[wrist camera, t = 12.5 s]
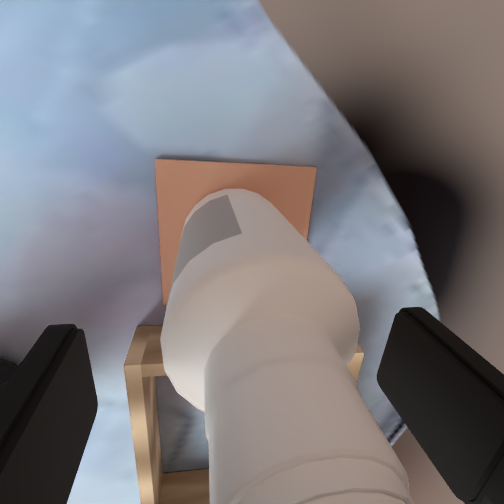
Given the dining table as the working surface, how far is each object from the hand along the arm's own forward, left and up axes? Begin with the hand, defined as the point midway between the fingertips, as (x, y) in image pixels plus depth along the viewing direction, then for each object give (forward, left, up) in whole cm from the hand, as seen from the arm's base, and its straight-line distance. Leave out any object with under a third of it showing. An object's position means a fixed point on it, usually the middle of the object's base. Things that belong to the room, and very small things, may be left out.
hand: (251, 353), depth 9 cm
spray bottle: (0, +1, -12) cm, 12 cm away
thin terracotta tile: (+1, +1, -12) cm, 12 cm away
